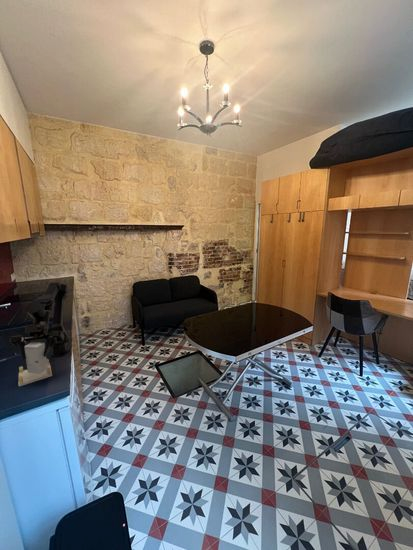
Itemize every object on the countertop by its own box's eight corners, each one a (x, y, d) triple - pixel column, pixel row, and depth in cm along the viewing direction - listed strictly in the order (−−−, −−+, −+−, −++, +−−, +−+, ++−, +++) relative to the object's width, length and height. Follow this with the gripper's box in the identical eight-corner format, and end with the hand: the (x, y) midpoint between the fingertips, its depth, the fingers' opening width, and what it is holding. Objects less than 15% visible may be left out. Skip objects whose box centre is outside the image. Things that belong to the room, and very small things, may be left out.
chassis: (19, 373, 109) (18, 367, 108) (50, 364, 116) (49, 358, 115) (18, 386, 99) (17, 379, 99) (52, 375, 106) (51, 368, 106)
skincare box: (27, 373, 98) (22, 346, 96) (36, 367, 102) (32, 341, 100) (40, 374, 97) (35, 347, 95) (49, 368, 101) (44, 342, 99)
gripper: (7, 318, 97) (-3, 355, 88) (58, 312, 102) (53, 347, 93) (19, 329, 105) (11, 364, 97) (66, 323, 111) (62, 356, 102)
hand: (34, 358), depth 97 cm, fingers closed on skincare box, 7 cm apart
